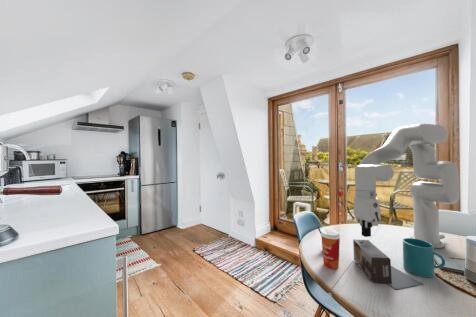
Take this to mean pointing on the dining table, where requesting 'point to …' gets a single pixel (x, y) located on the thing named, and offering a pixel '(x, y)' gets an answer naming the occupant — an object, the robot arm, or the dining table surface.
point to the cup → (420, 257)
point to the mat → (402, 280)
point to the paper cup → (330, 248)
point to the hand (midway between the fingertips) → (366, 235)
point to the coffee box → (372, 261)
